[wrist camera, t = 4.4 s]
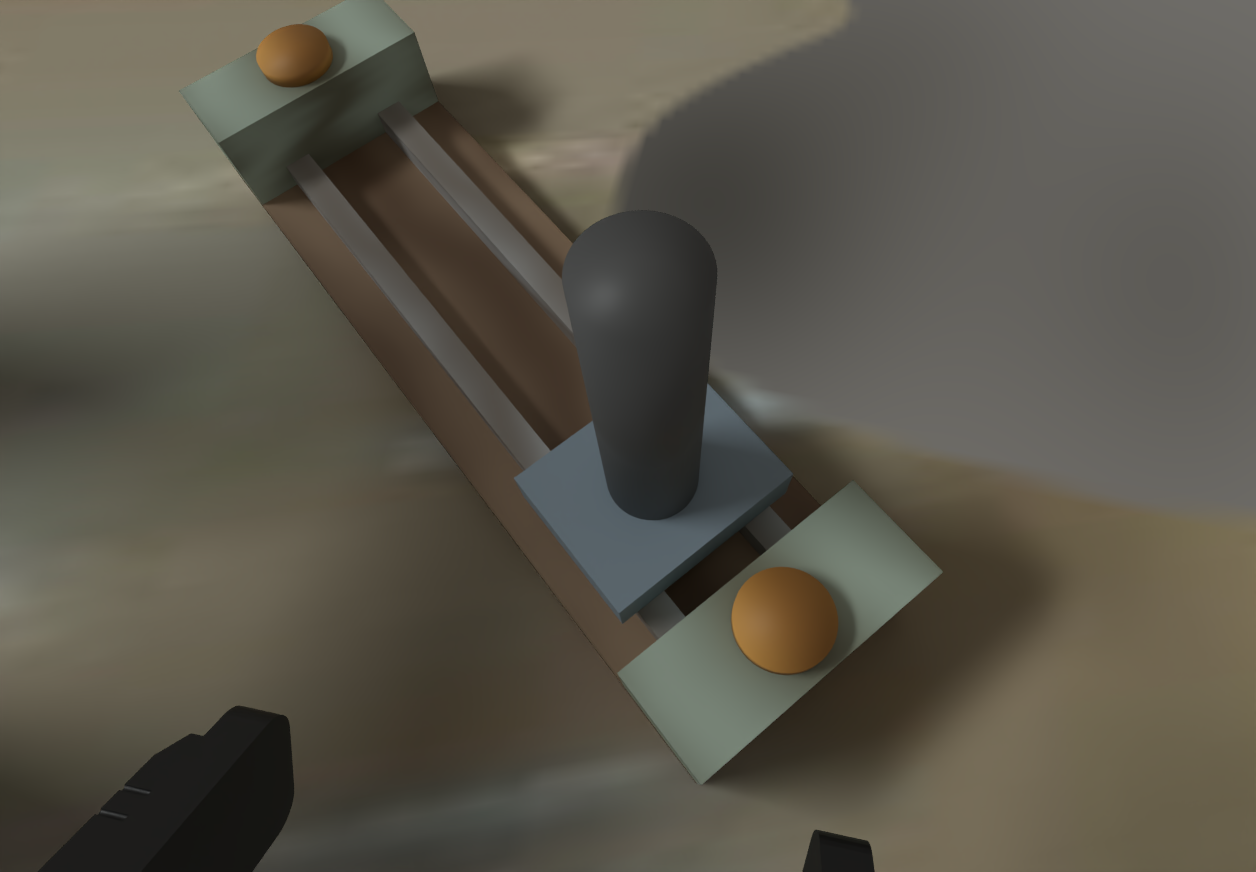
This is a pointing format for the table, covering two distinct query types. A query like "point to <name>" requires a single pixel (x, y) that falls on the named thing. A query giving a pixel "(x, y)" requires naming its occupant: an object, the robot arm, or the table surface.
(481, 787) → the table surface
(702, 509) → the carriage
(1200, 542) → the table surface
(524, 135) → the table surface
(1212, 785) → the table surface
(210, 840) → the robot arm
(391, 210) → the rail track
